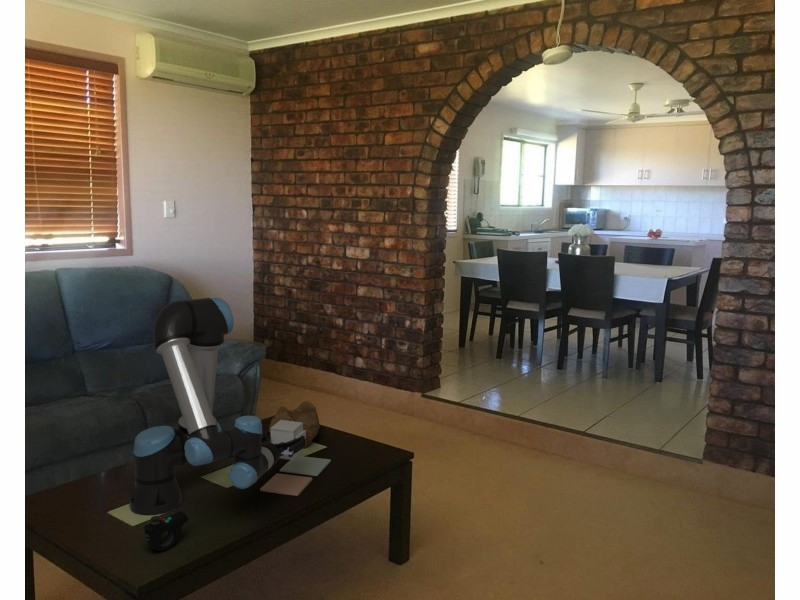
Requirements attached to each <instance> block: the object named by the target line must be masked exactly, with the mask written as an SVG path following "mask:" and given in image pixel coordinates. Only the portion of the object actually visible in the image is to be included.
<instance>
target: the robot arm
mask: <svg viewBox="0 0 800 600" xmlns="http://www.w3.org/2000/svg"><path fill="white" fill-rule="evenodd" d="M233 329H234V316H233V312H232V310H231V308H230V305H229V304H228V303H227V302H226V300H224V299H223V298H221V297H205V298H197V299H185V300H175V301H172V302H169V303H168V304H166V305H165V306H163V308H161V310H160V311H159V313H158V314H157V315H156V318H155V320H154V323H153V328H152V339H153V344H154V348H155V351H156V353H157V354H159V355H161V357H162V359H163V362H164V364H165V369H166V371H167V375H168V377H169V381H170V384H171V386H172V389H173V392H174V395H175V397H176V400H177V403H178V406H179V410H180V411H181V417H179V418H178V422H177V423H178V424H177V425H178V426H177V428H174V427H173V426H170V425H160V426H152V427H149V428H147V429H145V430H142V431H140V432H139V433H138V434H137V435H136V437H135V438H134V442H133V443H134V444H133V459H134V461H133V462H134V477H135V479H134V481H135V482H134V486H133V490H132V493H131V497H130V499H129V508H130V510H131V512H133V513H134V514H138V515H143V516H150V515H151V516H152V515H153V516H156V515H160V514H165V513H168V512H171V511H174V510H175V509H177V508H179V506H181V504H182V503H183V494H182V491H181V489H180V486H179V484H178V480H177V477H176V468H178V467H181V466H185V465H188V464H189V465H191V466H194V467H197V466H201V465H207V464H211V463H213V462H216V461H219V460H223V459H226V458H231V457H230V456H234V455H235V456H234V464H233V465H232V467H230V469H229V472H228V479H229V481H230V483H231V484H232V485H233V486H234V487H235V488H237V489H241V490H246V489H248V488H249V487H251V486H253V485H254V484H255V483H257V481H258V480H259V479H260V478H261V477H262V476H264V474H265V473H267V471H269V470H270V469H271V468H272V467H273V466H275V465H276V464H277V462H278V461H279V460H280V459H281V458H280V457H281V456H283V455H284V454H288V455H289V457H292V456H293V454H295V453H297V452H298V451H300V450H301V449H306V448H305V443H306V440H305V438H306V430H303V431H302V432H301V433H300V434H299V435H298V436H297V437H296V439H294V440H291V441H288V442H286V443H284V442H282V443H279V444H273V443H271V432H269V431H268V432H266V434H265V433H263V424H262V420H261V419H260V417H258V416H255V415H243V416H239V417H238V418H236V419H235V421H234V425H233V426H234V427H230V428H228V429H223V430H222V427H221V425H220V423H219V422H218V421H217V418H216V417H214V415H213V411H214V409H213V408H214V400H215V388H216V387H215V385H216V378H217V377H216V375H217V364H218V353H219V348H220V347H221V346H222V345H223V344H224V342H225V335H228V334H231V332H232V331H233Z"/></svg>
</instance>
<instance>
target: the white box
mask: <svg viewBox="0 0 800 600" xmlns="http://www.w3.org/2000/svg"><path fill="white" fill-rule="evenodd" d="M302 431H303V423H302V422H294V421H286V420H280V421H279V422H277V423H276V424H275V425H273V426H272V427H271V443H273V444H279V443H282V442H284V443H286V442H288V441H291V440H294V439H296V437H297V436H298V435H299V434H300V433H301V432H302ZM303 449H304V448H303ZM303 449H301V450H300V451H298V452H297V453H295V454H293V456H292V457H289V455H288V454H284V455H283V456H281V457H280V458H279V459H282V460H288V461H290V460H294V459H295V458H296V457H297V456H300V455H301V453H302V452H303V451H304V450H303Z"/></svg>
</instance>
